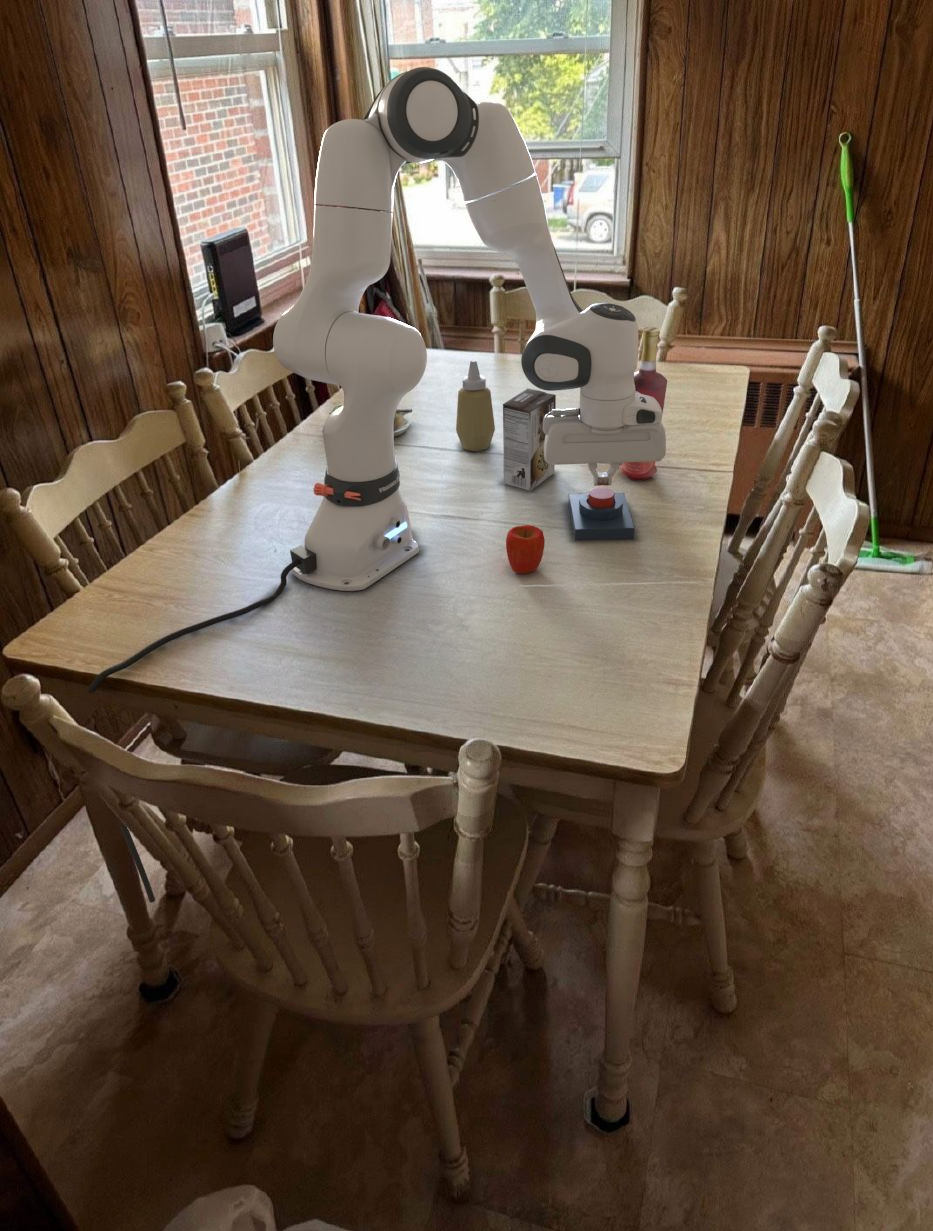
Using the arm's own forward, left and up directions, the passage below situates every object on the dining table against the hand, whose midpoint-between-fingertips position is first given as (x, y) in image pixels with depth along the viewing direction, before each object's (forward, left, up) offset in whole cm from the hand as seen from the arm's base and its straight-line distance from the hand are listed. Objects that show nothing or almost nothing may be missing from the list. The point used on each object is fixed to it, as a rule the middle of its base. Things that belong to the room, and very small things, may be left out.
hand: (602, 484), depth 151 cm
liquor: (+20, -1, -7) cm, 21 cm away
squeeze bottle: (+21, +34, -7) cm, 40 cm away
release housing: (0, 0, -7) cm, 7 cm away
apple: (-20, +6, -7) cm, 22 cm away
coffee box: (+11, +18, -7) cm, 22 cm away
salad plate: (+20, +60, -7) cm, 63 cm away
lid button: (0, 0, -4) cm, 4 cm away
